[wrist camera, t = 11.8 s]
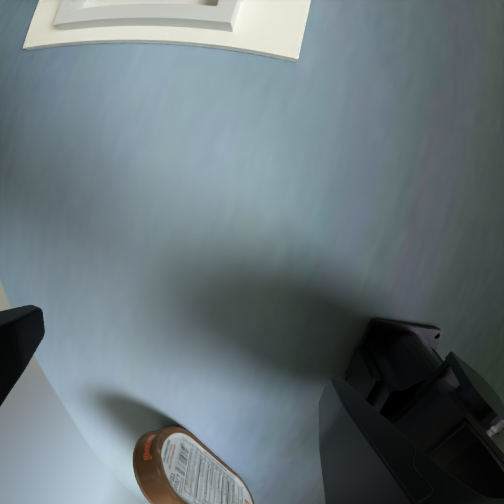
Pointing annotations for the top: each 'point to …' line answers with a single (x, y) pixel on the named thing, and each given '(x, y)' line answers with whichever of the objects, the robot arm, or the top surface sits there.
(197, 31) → the charging cradle
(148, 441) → the tin
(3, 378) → the robot arm
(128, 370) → the top surface
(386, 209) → the top surface
